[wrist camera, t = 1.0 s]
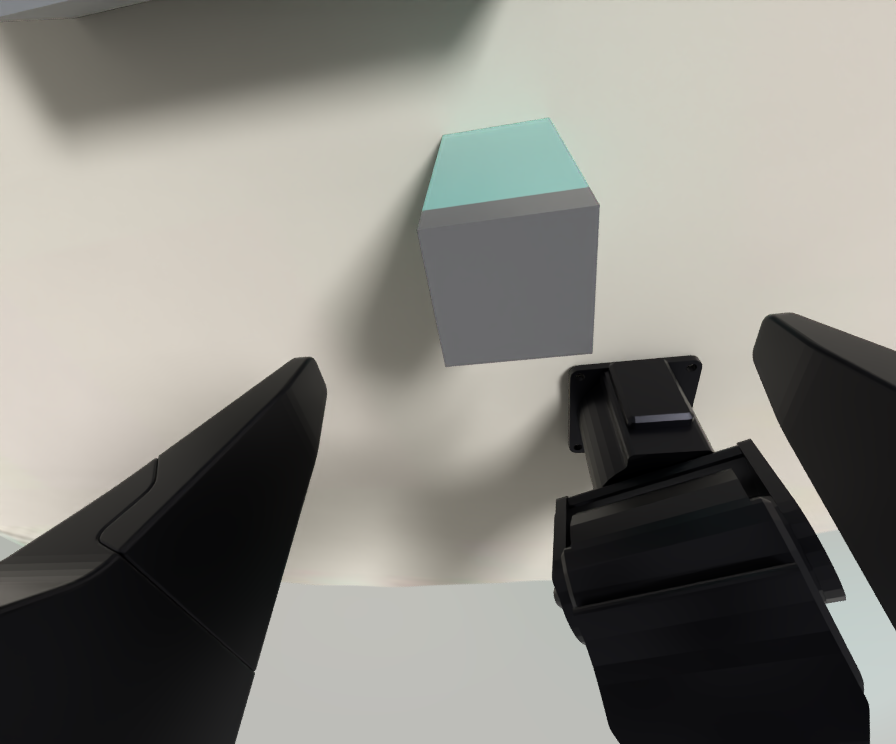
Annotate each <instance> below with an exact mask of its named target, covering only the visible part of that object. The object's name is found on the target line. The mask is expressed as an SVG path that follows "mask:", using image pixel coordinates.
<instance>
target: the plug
mask: <svg viewBox="0 0 896 744" xmlns="http://www.w3.org/2000/svg"><path fill="white" fill-rule="evenodd" d="M599 208H600V205H599V203H598V201H597V200H596V198H595V196H594V194H593V193H592V191H591V189H590V187H589V186H588V184H587V182H586V180H585V179H584V177H583V175H582V173H581V172H580V170H579V168H578V167H577V165H576V163H575V161H574V160H573V158H572V156H571V154H570V153H569V151H568V149H567V147H566V146H565V144H564V142H563V140H562V139H561V137H560V135H559V134H558V132H557V130H556V128H555V127H554V125H553V123H552V121H551V120H550V118H544V119H538V120H532V121H526V122H520V123H514V124H508V125H502V126H496V127H490V128H484V129H478V130H472V131H466V132H460V133H454V134H448V135H443V137H442V141H441V144H440V148H439V151H438V155H437V159H436V162H435V166H434V170H433V173H432V177H431V180H430V184H429V188H428V191H427V195H426V198H425V202H424V206H423V209H422V213H421V217H420V220H419V224H418V227H417V233H418V238H419V243H420V248H421V252H422V257H423V262H424V267H425V271H426V276H427V281H428V286H429V290H430V295H431V300H432V305H433V309H434V314H435V319H436V324H437V328H438V333H439V338H440V343H441V348H442V352H443V357H444V362H445V367H450V366H461V365H472V364H483V363H494V362H505V361H516V360H527V359H538V358H549V357H560V356H571V355H582V354H592V351H593V331H594V310H595V290H596V269H597V249H598V229H599Z"/></svg>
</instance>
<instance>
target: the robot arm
mask: <svg viewBox="0 0 896 744" xmlns="http://www.w3.org/2000/svg"><path fill="white" fill-rule="evenodd" d="M753 361H754V364H755V367H756V369H757V372H758V374H759V377H760V379H761V381H762V384H763V386H764V389H765V391H766V394H767V396H768V399H769V401H770V403H771V406H772V408H773V411H774V413H775V416H776V418H777V420H778V422H779V424H780V427H781V429H782V430H783V432H784V434H785V436H786V438H787V440H788V442H789V443H790V445H791V447H792V449H793V450H794V452H795V454H796V456H797V457H798V459H799V461H800V463H801V464H802V466H803V468H804V470H805V472H806V473H807V475H808V477H809V479H810V480H811V482H812V484H813V486H814V487H815V489H816V491H817V493H818V494H819V496H820V498H821V500H822V501H823V503H824V505H825V507H826V509H827V510H828V512H829V514H830V516H831V517H832V519H833V521H834V523H835V524H836V526H837V528H838V530H839V531H840V533H841V535H842V537H843V538H844V540H845V542H846V544H847V545H848V547H849V549H850V551H851V552H852V554H853V556H854V558H855V560H856V561H857V563H858V565H859V567H860V568H861V570H862V572H863V574H864V575H865V577H866V579H867V581H868V583H869V584H870V586H871V588H872V590H873V591H874V593H875V595H876V597H877V598H878V600H879V602H880V604H881V605H882V607H883V609H884V611H885V613H886V614H887V616H888V618H889V620H890V621H891V623H892V625H893V627H894V628H895V630H896V351H894V350H892V349H889V348H886V347H884V346H881V345H878V344H876V343H873V342H870V341H868V340H865V339H862V338H859V337H857V336H854V335H851V334H849V333H846V332H843V331H841V330H838V329H835V328H833V327H830V326H827V325H825V324H822V323H819V322H817V321H814V320H811V319H809V318H806V317H803V316H800V315H798V314H795V313H779V314H770V315H768V316H766V317H765V318H764V319H763V321H762V324H761V327H760V330H759V333H758V336H757V339H756V342H755V345H754V348H753ZM691 364H693V365H692V366H690V367H687V366H689V365H691ZM701 370H702V363H701V362H700V360H699V358H698V357H696V356H692V355H690V356H678V357H667V358H656V359H645V360H633V361H622V362H611V363H599V364H588V365H578V366H575V367H573V368H572V369H571V370H570V371H569V429H568V443H569V448H570V450H571V451H572V452H574V453H584V452H585V455H586V459H587V464H588V468H589V472H590V477H591V481H592V485H593V490H591V491H588V492H585V493H581V494H578V495H575V496H572V497H568V496H565V497H562V498H559V499H556V514H555V518H554V542H553V565H552V581H553V584H554V586H555V588H554V598H555V601H556V603H557V605H558V606H559V607H561V608H562V609H563V611H564V614H565V617H566V619H567V621H568V623H569V625H570V627H571V629H572V631H573V633H574V634H575V636H576V637H577V639H578V640H579V641H580V642H581V643H583V644H585V645H586V647H587V650H588V653H589V656H590V659H591V662H592V665H593V668H594V671H595V675H596V678H597V682H598V686H599V689H600V693H601V697H602V701H603V705H604V709H605V713H606V716H607V720H608V724H609V727H610V729H611V731H612V733H613V734H614V736H615V737H616V739H617V740H618V742H619V743H620V744H870V720H869V719H870V715H869V714H870V713H869V704H868V701H867V699H866V697H865V695H864V683H863V679H862V676H861V674H860V671H859V669H858V668H857V665H856V663H855V661H854V660H853V657H852V655H851V654H850V652H849V650H848V648H847V646H846V644H845V642H844V640H843V638H842V636H841V634H840V632H839V630H838V628H837V626H836V624H835V622H834V620H833V618H832V616H831V614H830V612H829V610H828V609H827V607H826V605H825V603H832V602H838V601H844V600H846V595H845V592H844V590H843V587H842V585H841V582H840V580H839V578H838V576H837V574H836V572H835V569H834V567H833V565H832V563H831V561H830V559H829V557H828V555H827V553H826V552H825V550H824V548H823V546H822V544H821V542H820V541H819V539H818V537H817V535H816V533H815V532H814V530H813V528H812V527H811V525H810V523H809V522H808V520H807V518H806V517H805V515H804V513H803V512H802V510H801V509H800V507H799V506H798V504H797V503H796V501H795V500H794V498H793V497H792V496H791V494H790V493H789V492H788V490H787V489H786V487H785V486H784V485H783V483H782V482H781V480H780V479H779V478H778V476H777V475H776V473H775V472H774V471H773V469H772V468H771V466H770V465H769V464H768V462H767V461H766V459H765V458H764V457H763V455H762V454H761V453H760V451H759V450H758V448H757V447H756V446H755V444H754V443H753V441H752V440H751V439H748V440H745V441H742V442H738V443H737V445H736V446H733V447H730V448H727V449H723V450H720V451H717V452H714V450H713V448H712V446H711V444H710V442H709V440H708V438H707V436H706V434H705V432H704V431H703V429H702V427H701V425H700V423H699V421H698V419H697V417H696V415H695V413H694V411H693V409H692V407H693V403H694V399H695V395H696V391H697V386H698V382H699V378H700V374H701ZM577 374H582V375H581V376H576V375H577ZM326 398H327V388H326V384H325V382H324V379H323V377H322V375H321V372H320V370H319V368H318V365H317V363H316V361H315V360H314V358H312V357H299V358H293V359H292V360H290V361H289V362H287V363H286V364H285V365H283V366H282V367H281V368H279V369H278V370H276V371H275V372H274V373H272V374H271V375H270V376H268V377H267V378H265V379H264V380H263V381H261V382H260V383H259V384H257V385H256V386H254V387H253V388H252V389H250V390H249V391H247V392H246V393H245V394H243V395H242V396H241V397H239V398H238V399H236V400H235V401H234V402H232V403H231V404H230V405H228V406H227V407H225V408H224V409H223V410H221V411H220V412H219V413H217V414H216V415H214V416H213V417H212V418H210V419H209V420H207V421H206V422H205V423H203V424H202V425H201V426H199V427H198V428H196V429H195V430H194V431H192V432H191V433H190V434H188V435H187V436H185V437H184V438H183V439H181V440H180V441H179V442H177V443H176V444H174V445H173V446H172V447H170V448H169V449H167V450H166V451H165V452H163V453H162V454H161V455H159V457H158V459H157V458H156V459H153V460H152V461H151V462H149V463H148V464H147V465H145V466H144V467H143V468H141V469H140V470H138V471H137V472H136V473H134V474H133V475H131V476H130V477H128V478H127V479H126V480H124V481H123V482H121V483H120V484H119V485H117V486H116V487H114V488H113V489H111V490H110V491H108V492H107V493H105V494H104V495H102V496H101V497H99V498H98V499H96V500H95V501H93V502H92V503H90V504H89V505H87V506H86V507H84V508H83V509H81V510H80V511H78V512H77V513H75V514H73V515H72V516H70V517H69V518H67V519H66V520H64V521H63V522H61V523H60V524H58V525H56V526H55V527H53V528H52V529H50V530H49V531H47V532H46V533H44V534H43V535H41V536H39V537H38V538H36V539H35V540H33V541H32V542H30V543H29V544H27V545H26V546H24V547H22V548H21V549H19V550H18V551H16V552H15V553H13V554H12V555H10V556H9V557H7V558H6V559H4V560H2V561H0V744H235V741H236V738H237V734H238V731H239V727H240V724H241V720H242V717H243V713H244V710H245V707H246V703H247V699H248V696H249V693H250V689H251V685H252V682H253V679H254V675H255V672H254V671H255V670H256V667H257V664H258V660H259V657H260V653H261V650H262V646H263V642H264V639H265V635H266V632H267V629H268V625H269V622H270V618H271V614H272V611H273V607H274V604H275V601H276V597H277V594H278V590H279V587H280V583H281V580H282V576H283V573H284V569H285V566H286V562H287V559H288V555H289V552H290V548H291V545H292V542H293V538H294V535H295V531H296V528H297V524H298V521H299V517H300V514H301V510H302V507H303V503H304V500H305V496H306V493H307V489H308V486H309V482H310V479H311V475H312V472H313V468H314V465H315V461H316V457H317V453H318V448H319V442H320V436H321V430H322V423H323V417H324V411H325V405H326Z"/></svg>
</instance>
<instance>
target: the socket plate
mask: <svg viewBox="0 0 896 744" xmlns="http://www.w3.org/2000/svg"><path fill="white" fill-rule="evenodd" d="M146 1H150V0H0V22H4V21H26V20H47V19H68V18H77V17H81V16H86V15H90V14H94V13H99V12H103V11H107V10H112V9H116V8H120V7H125V6H129V5H133V4H137V3H142V2H146Z"/></svg>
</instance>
